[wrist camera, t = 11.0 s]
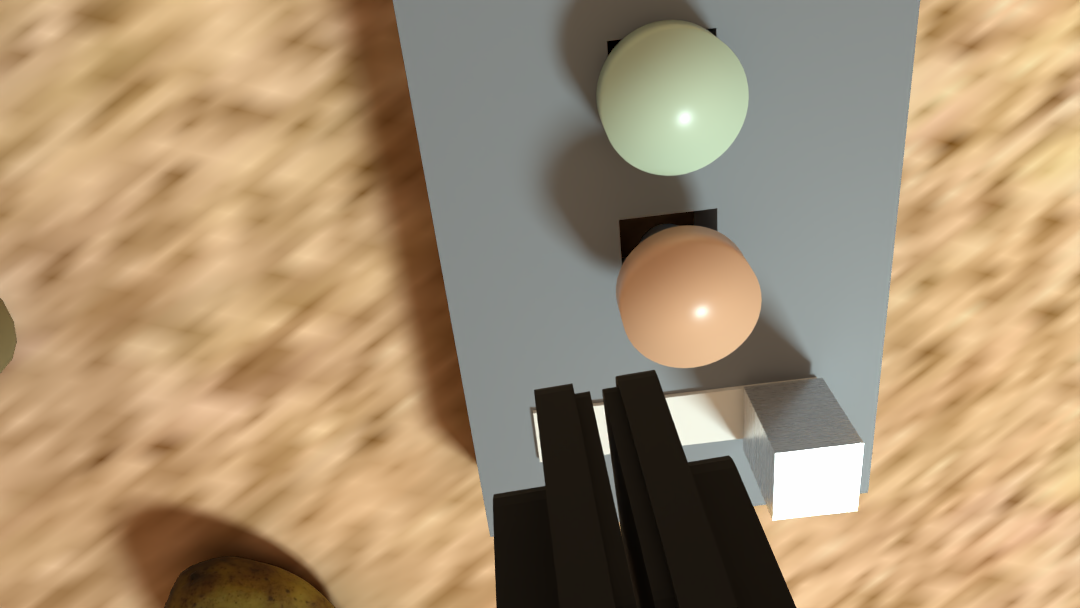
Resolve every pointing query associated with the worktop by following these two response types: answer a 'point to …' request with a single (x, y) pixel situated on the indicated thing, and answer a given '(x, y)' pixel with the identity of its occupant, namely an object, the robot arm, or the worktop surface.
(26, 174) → the worktop surface
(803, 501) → the slider knob
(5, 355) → the cork
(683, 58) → the sage button
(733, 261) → the peach knob
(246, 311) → the worktop surface
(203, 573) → the potato
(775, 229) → the panel
